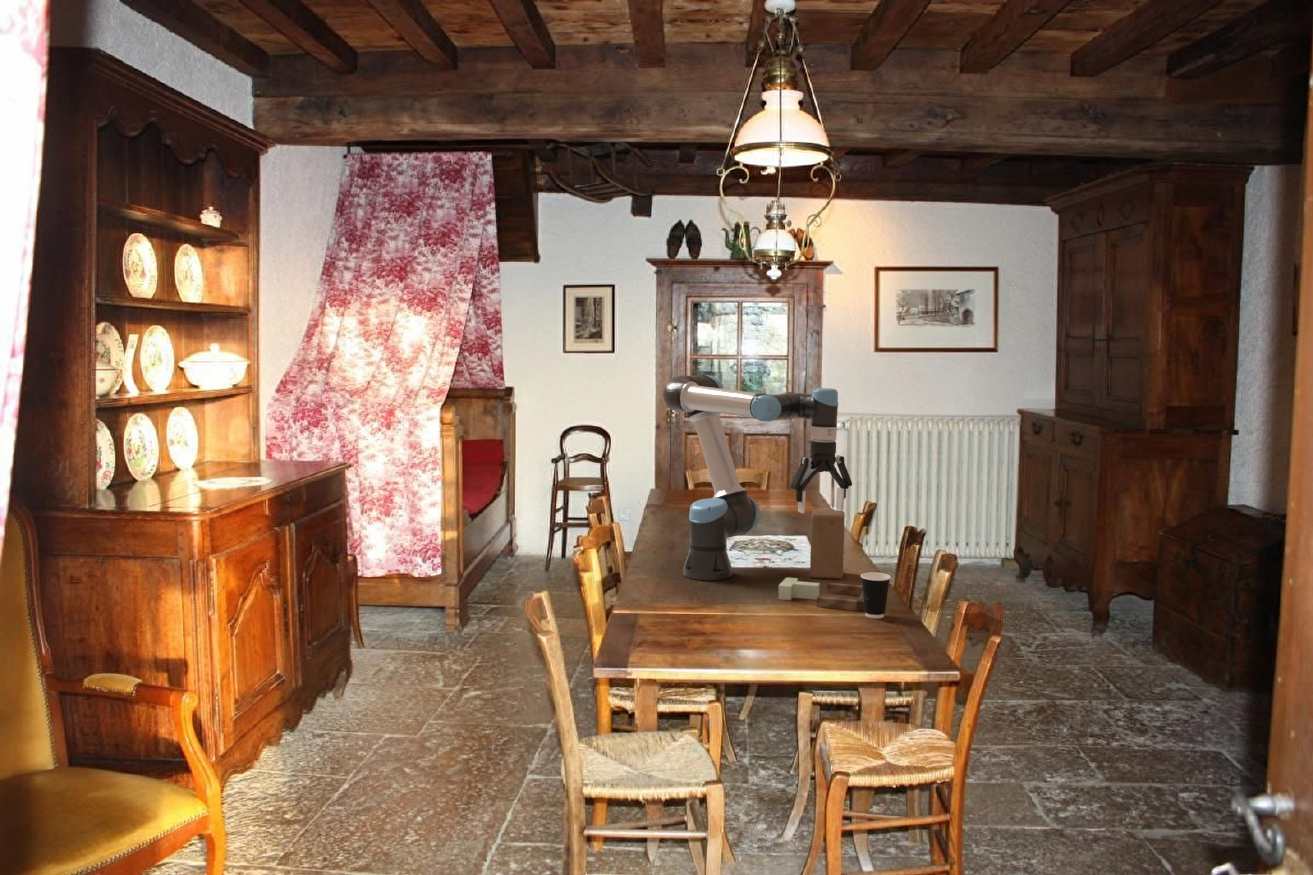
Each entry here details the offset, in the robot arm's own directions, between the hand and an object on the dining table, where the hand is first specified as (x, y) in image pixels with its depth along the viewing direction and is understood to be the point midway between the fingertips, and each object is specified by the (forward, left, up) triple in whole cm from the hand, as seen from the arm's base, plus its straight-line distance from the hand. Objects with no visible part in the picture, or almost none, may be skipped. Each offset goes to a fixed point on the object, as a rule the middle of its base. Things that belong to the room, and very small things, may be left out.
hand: (820, 511), depth 298 cm
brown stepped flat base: (+11, -15, -23) cm, 29 cm away
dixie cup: (+20, -27, -23) cm, 41 cm away
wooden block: (0, +13, -23) cm, 26 cm away
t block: (-3, -15, -23) cm, 27 cm away
